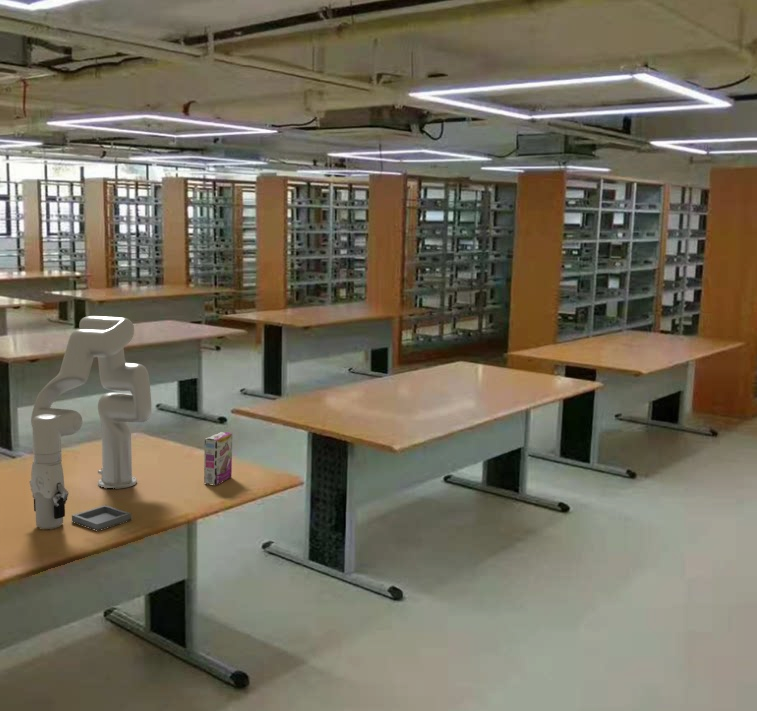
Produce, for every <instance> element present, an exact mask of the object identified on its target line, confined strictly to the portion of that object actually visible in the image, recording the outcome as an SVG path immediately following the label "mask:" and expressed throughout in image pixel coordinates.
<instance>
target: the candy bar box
mask: <svg viewBox="0 0 757 711" xmlns="http://www.w3.org/2000/svg"><path fill="white" fill-rule="evenodd" d="M232 453H233V433H231V432H223V431H220V432H217V433H215V434H213V435H210V436H208V437H206V438H204V464H203V465H204V468H203V469H204V470H203V471H204V473H203V476H204V477H203V478H204V479H203V480H204V483H206V484H213V485H216V486H218V485H220V484H222V483H223V482H222V481H224V480H226V479H228V478H230V477H231V478H232V469H233V468H232V466H233V465H232V464H233V460H232V459H233V454H232ZM231 478H230V479H231ZM228 480H229V479H228ZM226 481H227V480H226ZM221 482H222V483H221ZM224 482H225V481H224ZM204 483H203V484H204ZM219 483H220V484H219ZM206 484H205V485H206ZM217 484H218V485H217Z"/></svg>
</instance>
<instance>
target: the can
mask: <svg viewBox="0 0 757 711" xmlns="http://www.w3.org/2000/svg"><path fill="white" fill-rule="evenodd" d="M39 491H40V490H39ZM57 494H58V493H56V494H55V495H57ZM59 499H60V497H58V498H57V500H59ZM54 506H55V503H54V501H53V499H52V498H51V499H47V498H44V496H43V495H42V494H41V493H39V492H36V493H35V508H36V512H35V526H37V528H39V529H40V528H41V530H44V529H50V530H53V529H52V528H55V529H57V528H56V527H58V528H59V526H60V525H63V523H64V517H62V518H58V519H55V518H54ZM60 527H61V526H60Z"/></svg>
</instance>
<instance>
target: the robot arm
mask: <svg viewBox="0 0 757 711" xmlns="http://www.w3.org/2000/svg"><path fill="white" fill-rule="evenodd" d="M78 326H79V327H78V328H79V329H76V330H74V331H72V332H71V333H70V335H69V338H68V342H67V345H66V348H65V351H64V355H63V358H62V363H61V365H60V370H59V372H58V374H57V375H56V376H55V377H54V378H53V379H51V380H50V381H49V382H48V383H46V384H45V385H44V387H43V388H42V389H41V390H40V391H39V393H38V394H37V396H36V399H35V401H34V404H33V408H32V412H31V416H30V417H31V418H30V425H31V428H32V447H33V448H32V449H33V450H32V451H33V452H32V453H33V456H32V457H33V461H32V464H31V475H30V477H31V478H30V480H29V486H30V491H31V492H32V495H31V496H32V498H33V507H34V508H33V510H34V512H35V513H36V508H35V493H36V492H39V493H41V494H42V495H43V496H44V498H47V499H51V498H52V499H53V501H54V503H55V506H54V518H55V519H58V518H62V517H63V518H64V517H66V509H65V508H66V503H67V501H68V496H69V490H67V488H65V478H64V477H65V476H64V469H63V464H62V437H65V436H66V437H68V436H72V435H75V434H76V433H78V432H79V431H80V429H81V427H82V426H83V417H82V415H81V413H79V412H78V411H76V410H74V409H68V408H67V409H65V408H53V407H52V405H53V403H54V401H55V400H56V399H57V398H58V397H59V396H61V395H62V394H64V393H66V392H67V391H70V390H73V389H75V388H78V387H80V386H83V385H84V384H86V383H87V382H88V380H89V377H90V373H91V369H92V367H93V366H92V365H93V363H94V359H95V358H97V361H98V362H97V364H98V371H99V372H98V373H99V379H100V380H99V381H100V384H101V387H102V388H103V389H105V390H108V391H116V392H107V393H104V394H102V395H101V396H100V398H99V399H98V402H97V410H98V415H99V419H100V426H101V427H100V428H101V453H102V454H101V455H102V460H101V461H102V462H101V463H102V467H101V469H99V470H97V474H98V475H101V478H99V480H98V481H97V482H98V483H97V485H98V486H99V487H100V486H101V488H102V487H104V488H103V489H107V488H113V489H112V490H116V489H117V490H118V489H120V490H121V489H126V488H130V487H132V486H134V485H136V484H137V481H138V480H137V478H136V477H135V476H133V468H132V463H133V462H132V460H133V459H132V456H133V455H132V432H131V429H130V426H129V425H128V423H139V424H140V423H141V424H142V423H145V422H147V421H148V420H149V419H150V417H151V414H152V394H151V384H150V375H149V371H148V370H147V367H146V366H145V365H143V364H141V363H135V362H127V360H126V357H125V349H124V348H125V347H126V346H127V345H128V344H129V343H131V342H132V339H133V337H134V334H135V325H134V323H133V322H132V321H131V320H130V319H129V318H127V317H119V316H103V315H89V316H85V317H82V318H81V319H80V321H79V324H78ZM125 392H126V393H125ZM127 392H130V393H127ZM114 488H115V489H114ZM39 490H40V491H39ZM56 493H58V494H57V495H55V494H56ZM58 497H60V499H59V500H57V498H58Z"/></svg>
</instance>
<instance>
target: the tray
mask: <svg viewBox="0 0 757 711" xmlns="http://www.w3.org/2000/svg"><path fill="white" fill-rule="evenodd" d="M129 520H131V521H132V512H128V511H125V510H122V509H120V508H116V507H113V506H110V505H107V504H105V505H100V506H98V507H95V508H91V509H87V510H85V511H82V512H79V513H75V514H72V515H71V522H72V521H73V522H75V523H78V524H80V525H83V526H86V527H89V528H91V529H95V530H97V531H98V530H101V529H104V528H107V527H110V526H113V525H116V526H118V525H117V524H119V525H121V524H120V523H122V524H124V523H123V522H125V523H127V522H126V521H128V522H130V521H129ZM75 523H74V524H75ZM78 524H77V525H78ZM80 525H79V526H80ZM83 526H82V527H83ZM86 527H85V528H86ZM113 527H114V526H113ZM89 528H88V529H89ZM110 528H111V527H110ZM91 529H90V530H91ZM107 529H108V528H107ZM104 530H105V529H104ZM97 531H96V532H97ZM101 531H102V530H101ZM98 532H99V531H98Z"/></svg>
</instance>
